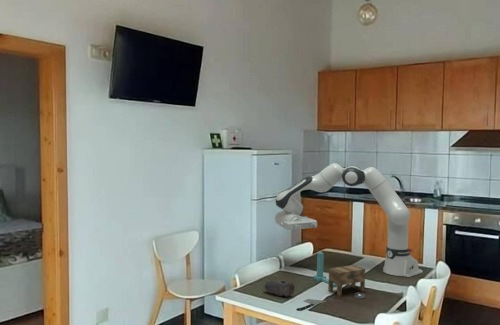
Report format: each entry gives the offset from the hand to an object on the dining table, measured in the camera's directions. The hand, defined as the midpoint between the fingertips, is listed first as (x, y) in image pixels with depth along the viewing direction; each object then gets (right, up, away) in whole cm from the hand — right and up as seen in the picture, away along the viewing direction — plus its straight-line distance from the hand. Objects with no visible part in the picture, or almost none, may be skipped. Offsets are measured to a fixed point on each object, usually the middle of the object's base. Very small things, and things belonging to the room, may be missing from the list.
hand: (308, 227), depth 251 cm
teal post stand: (+8, -27, -13) cm, 31 cm away
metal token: (+20, -28, -35) cm, 49 cm away
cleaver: (-3, -29, -41) cm, 50 cm away
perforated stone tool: (-19, -28, -34) cm, 47 cm away
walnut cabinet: (+15, -28, -27) cm, 41 cm away
